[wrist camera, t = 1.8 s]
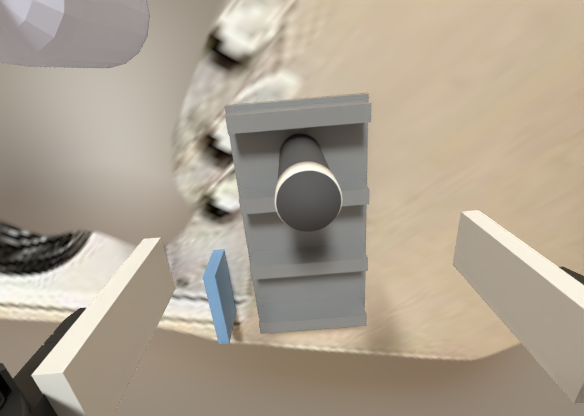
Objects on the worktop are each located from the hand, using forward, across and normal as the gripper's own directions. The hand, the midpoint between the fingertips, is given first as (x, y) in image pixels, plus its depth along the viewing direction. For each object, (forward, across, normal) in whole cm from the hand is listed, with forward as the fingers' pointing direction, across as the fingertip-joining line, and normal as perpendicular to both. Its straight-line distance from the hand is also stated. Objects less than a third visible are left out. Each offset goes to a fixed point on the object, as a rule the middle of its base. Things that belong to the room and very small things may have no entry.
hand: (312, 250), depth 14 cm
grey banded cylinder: (+18, 0, 0) cm, 18 cm away
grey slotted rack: (+19, 0, +8) cm, 20 cm away
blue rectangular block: (+19, +10, +15) cm, 26 cm away
